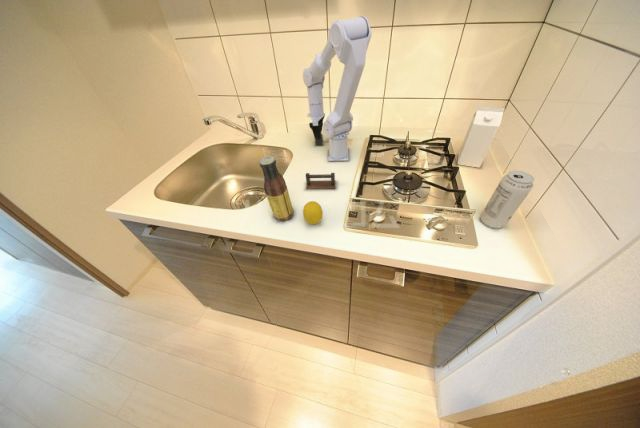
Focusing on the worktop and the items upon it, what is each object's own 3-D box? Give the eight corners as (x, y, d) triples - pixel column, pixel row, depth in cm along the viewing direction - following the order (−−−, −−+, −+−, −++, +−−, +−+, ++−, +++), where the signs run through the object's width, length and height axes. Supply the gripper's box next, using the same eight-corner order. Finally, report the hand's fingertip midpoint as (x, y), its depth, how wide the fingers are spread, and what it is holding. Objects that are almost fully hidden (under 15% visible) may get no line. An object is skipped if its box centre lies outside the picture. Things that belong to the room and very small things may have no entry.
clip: (316, 141, 104) (315, 127, 100) (322, 141, 104) (321, 127, 99) (315, 145, 102) (314, 131, 97) (322, 145, 101) (321, 131, 97)
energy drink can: (507, 231, 59) (542, 185, 49) (481, 228, 61) (509, 182, 50) (501, 215, 63) (531, 170, 53) (477, 213, 65) (502, 168, 54)
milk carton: (458, 155, 87) (478, 102, 74) (479, 158, 84) (504, 104, 71) (457, 164, 83) (478, 110, 69) (479, 168, 80) (506, 113, 67)
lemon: (321, 230, 65) (319, 210, 59) (302, 228, 66) (299, 208, 60) (325, 217, 68) (323, 196, 63) (307, 215, 70) (304, 195, 64)
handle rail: (307, 182, 82) (306, 170, 78) (335, 182, 81) (335, 170, 77) (306, 189, 79) (304, 177, 76) (335, 189, 78) (334, 177, 74)
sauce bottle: (285, 205, 74) (271, 149, 60) (297, 214, 70) (286, 157, 56) (269, 216, 71) (250, 160, 57) (281, 226, 67) (264, 168, 53)
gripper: (308, 97, 96) (311, 128, 106) (303, 109, 86) (307, 143, 95) (324, 96, 95) (326, 127, 105) (321, 108, 85) (324, 142, 94)
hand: (318, 135), depth 100 cm, fingers open, 7 cm apart
